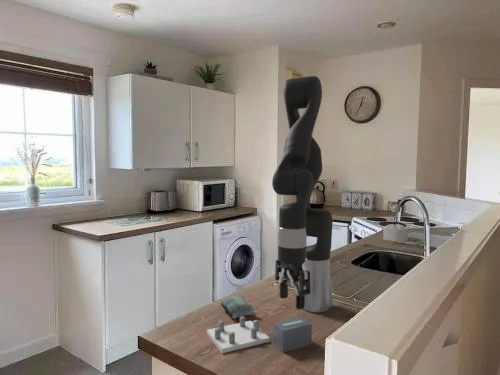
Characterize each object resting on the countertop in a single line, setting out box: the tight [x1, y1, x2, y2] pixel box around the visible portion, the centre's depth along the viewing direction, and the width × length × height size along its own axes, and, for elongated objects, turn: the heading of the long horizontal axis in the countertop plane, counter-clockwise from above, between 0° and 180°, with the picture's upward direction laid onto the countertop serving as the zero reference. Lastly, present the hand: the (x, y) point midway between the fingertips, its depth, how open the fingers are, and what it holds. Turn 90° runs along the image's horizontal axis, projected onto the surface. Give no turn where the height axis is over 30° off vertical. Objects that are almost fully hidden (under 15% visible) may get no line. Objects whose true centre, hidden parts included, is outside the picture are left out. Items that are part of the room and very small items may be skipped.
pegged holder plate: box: [206, 316, 270, 354], centre depth 109 cm, size 14×12×4 cm
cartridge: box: [273, 316, 313, 353], centre depth 105 cm, size 9×5×6 cm, turn 115°
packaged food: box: [220, 295, 259, 320], centre depth 125 cm, size 9×12×5 cm
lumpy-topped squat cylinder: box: [382, 223, 409, 242], centre depth 228 cm, size 10×13×9 cm
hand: (291, 303), depth 104 cm, fingers open, 8 cm apart
